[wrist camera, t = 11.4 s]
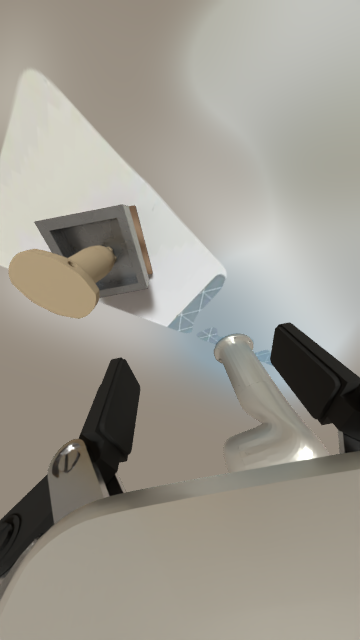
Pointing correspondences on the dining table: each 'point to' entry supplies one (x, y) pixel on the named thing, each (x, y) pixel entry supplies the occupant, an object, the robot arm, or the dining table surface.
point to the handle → (62, 278)
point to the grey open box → (104, 230)
